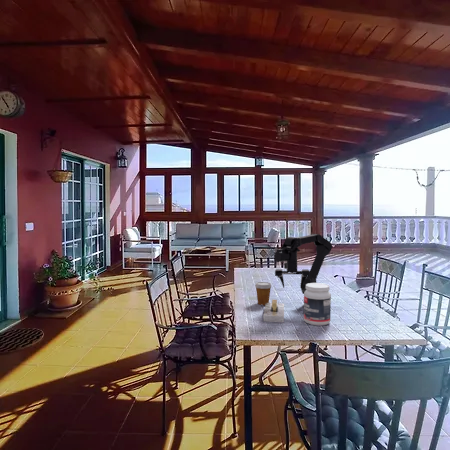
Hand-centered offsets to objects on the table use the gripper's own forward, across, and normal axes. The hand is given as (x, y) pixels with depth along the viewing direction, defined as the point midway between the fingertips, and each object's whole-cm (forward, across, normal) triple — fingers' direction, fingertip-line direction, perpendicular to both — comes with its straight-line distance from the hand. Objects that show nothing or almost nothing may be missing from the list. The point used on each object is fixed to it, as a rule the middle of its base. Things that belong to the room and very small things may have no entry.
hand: (292, 288), depth 197 cm
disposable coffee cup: (+12, +17, -9) cm, 22 cm away
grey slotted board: (+11, +10, +12) cm, 19 cm away
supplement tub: (+12, -11, +22) cm, 27 cm away
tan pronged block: (+11, +10, +12) cm, 19 cm away
